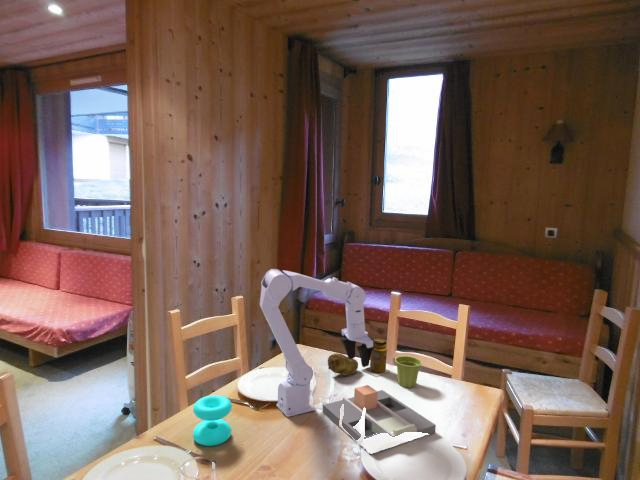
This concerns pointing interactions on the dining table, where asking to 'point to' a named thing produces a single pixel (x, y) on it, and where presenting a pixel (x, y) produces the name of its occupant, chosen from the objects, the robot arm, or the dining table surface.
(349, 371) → the potato
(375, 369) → the condiment
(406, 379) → the plant pot
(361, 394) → the terracotta block
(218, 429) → the donuts
